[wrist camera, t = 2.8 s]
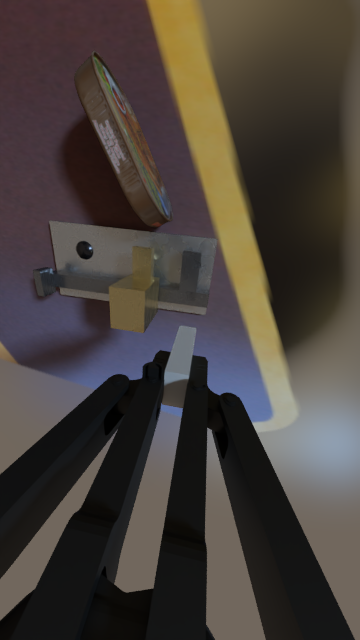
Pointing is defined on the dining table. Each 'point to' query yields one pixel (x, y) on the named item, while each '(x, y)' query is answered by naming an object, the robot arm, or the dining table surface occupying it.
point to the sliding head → (135, 294)
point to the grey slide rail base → (100, 284)
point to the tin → (122, 141)
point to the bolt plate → (127, 256)
